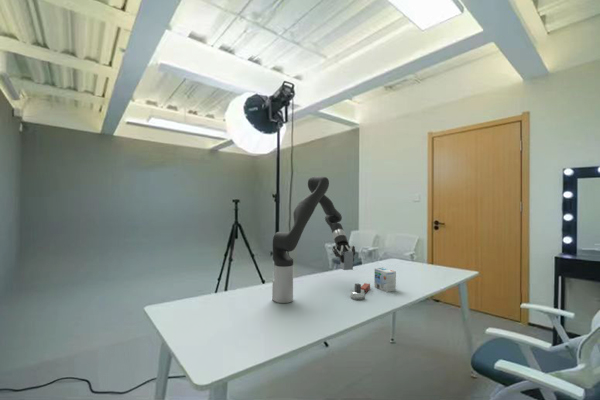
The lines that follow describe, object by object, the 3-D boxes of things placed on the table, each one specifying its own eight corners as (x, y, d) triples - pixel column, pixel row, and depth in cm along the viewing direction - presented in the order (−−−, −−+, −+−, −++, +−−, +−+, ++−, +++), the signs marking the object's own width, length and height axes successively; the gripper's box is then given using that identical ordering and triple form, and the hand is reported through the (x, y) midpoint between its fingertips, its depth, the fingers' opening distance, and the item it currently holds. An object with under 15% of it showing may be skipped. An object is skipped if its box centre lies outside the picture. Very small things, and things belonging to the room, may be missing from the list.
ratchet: (362, 301, 138) (362, 286, 138) (348, 298, 142) (349, 284, 142) (373, 288, 159) (373, 276, 159) (361, 287, 162) (361, 274, 162)
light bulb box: (373, 286, 163) (374, 268, 163) (383, 285, 166) (383, 267, 166) (386, 292, 153) (387, 272, 153) (396, 290, 156) (396, 271, 156)
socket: (344, 270, 159) (344, 252, 159) (340, 267, 164) (340, 250, 164) (352, 269, 160) (353, 251, 161) (348, 267, 166) (349, 250, 166)
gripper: (330, 234, 168) (338, 258, 156) (352, 234, 172) (361, 257, 160) (327, 242, 173) (334, 266, 161) (349, 242, 177) (357, 265, 165)
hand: (348, 261), depth 161 cm, fingers closed on socket, 5 cm apart
